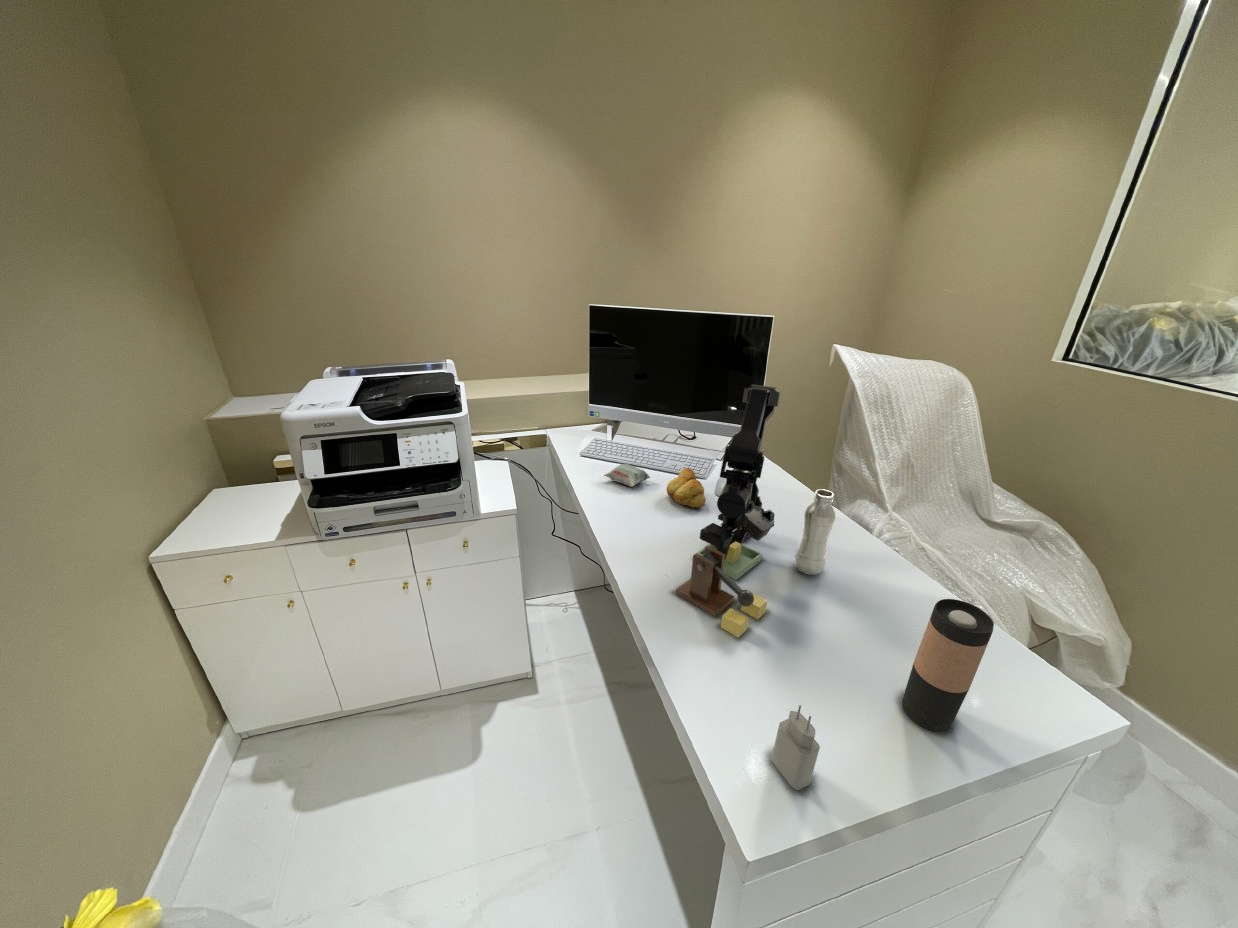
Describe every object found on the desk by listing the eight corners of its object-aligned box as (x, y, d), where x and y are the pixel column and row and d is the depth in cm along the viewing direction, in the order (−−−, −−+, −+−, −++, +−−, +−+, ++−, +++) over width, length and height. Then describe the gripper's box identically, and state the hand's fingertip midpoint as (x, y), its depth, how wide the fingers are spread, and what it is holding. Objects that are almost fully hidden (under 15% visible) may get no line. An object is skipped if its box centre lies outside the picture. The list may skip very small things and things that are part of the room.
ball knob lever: (752, 604, 100) (760, 595, 98) (743, 612, 97) (751, 603, 95) (705, 558, 105) (711, 549, 103) (695, 564, 103) (702, 555, 101)
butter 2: (748, 603, 105) (750, 591, 104) (765, 612, 102) (767, 600, 101) (740, 609, 103) (742, 598, 102) (757, 619, 100) (759, 607, 99)
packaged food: (632, 492, 149) (633, 477, 147) (603, 480, 156) (603, 466, 154) (650, 483, 155) (651, 469, 153) (621, 472, 162) (621, 458, 160)
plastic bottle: (824, 565, 118) (841, 489, 109) (821, 581, 112) (839, 503, 104) (795, 558, 120) (810, 483, 112) (791, 573, 114) (807, 496, 106)
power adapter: (785, 749, 75) (799, 691, 70) (812, 782, 70) (829, 722, 65) (769, 757, 73) (782, 698, 68) (795, 791, 69) (811, 731, 64)
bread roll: (712, 508, 142) (715, 482, 138) (682, 514, 138) (685, 488, 135) (688, 488, 152) (690, 464, 149) (660, 494, 149) (662, 469, 145)
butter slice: (725, 551, 121) (727, 537, 119) (739, 558, 118) (742, 544, 117) (718, 556, 119) (720, 542, 117) (733, 563, 116) (735, 549, 115)
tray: (722, 541, 126) (723, 535, 125) (761, 560, 119) (762, 553, 118) (696, 559, 119) (696, 552, 118) (736, 580, 112) (737, 573, 111)
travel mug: (890, 693, 84) (922, 598, 76) (933, 691, 85) (969, 596, 77) (918, 734, 78) (957, 635, 69) (965, 731, 78) (1009, 632, 70)
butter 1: (729, 619, 100) (730, 607, 99) (746, 629, 98) (748, 617, 96) (720, 627, 98) (722, 615, 97) (738, 637, 96) (740, 625, 94)
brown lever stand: (733, 600, 105) (740, 558, 101) (714, 616, 101) (720, 572, 96) (695, 579, 112) (699, 538, 107) (675, 593, 107) (679, 551, 103)
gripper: (747, 525, 101) (737, 587, 107) (791, 495, 113) (780, 553, 119) (701, 505, 108) (695, 565, 114) (747, 479, 120) (739, 535, 126)
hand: (729, 554), depth 118 cm, fingers open, 5 cm apart
